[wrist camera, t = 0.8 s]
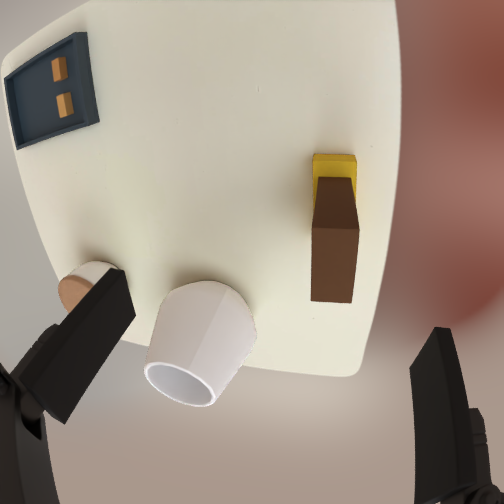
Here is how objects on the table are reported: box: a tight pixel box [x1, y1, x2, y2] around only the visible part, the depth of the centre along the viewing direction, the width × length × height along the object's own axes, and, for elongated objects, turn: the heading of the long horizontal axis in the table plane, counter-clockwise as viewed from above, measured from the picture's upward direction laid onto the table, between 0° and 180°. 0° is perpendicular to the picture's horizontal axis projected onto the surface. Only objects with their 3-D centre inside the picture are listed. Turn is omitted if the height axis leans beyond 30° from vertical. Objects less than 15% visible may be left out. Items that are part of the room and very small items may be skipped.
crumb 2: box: [56, 92, 74, 118], centre depth 29 cm, size 1×3×1 cm, turn 6°
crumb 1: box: [52, 57, 68, 82], centre depth 27 cm, size 1×3×1 cm, turn 6°
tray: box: [4, 32, 99, 150], centre depth 29 cm, size 17×12×2 cm
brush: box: [311, 154, 360, 303], centre depth 25 cm, size 9×4×12 cm, turn 6°
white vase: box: [144, 281, 257, 406], centre depth 37 cm, size 13×13×14 cm
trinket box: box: [58, 261, 118, 313], centre depth 41 cm, size 11×11×9 cm
